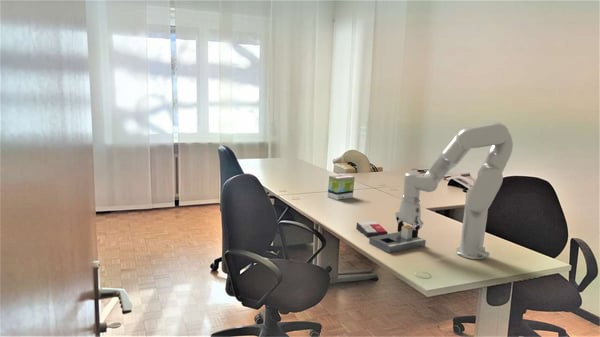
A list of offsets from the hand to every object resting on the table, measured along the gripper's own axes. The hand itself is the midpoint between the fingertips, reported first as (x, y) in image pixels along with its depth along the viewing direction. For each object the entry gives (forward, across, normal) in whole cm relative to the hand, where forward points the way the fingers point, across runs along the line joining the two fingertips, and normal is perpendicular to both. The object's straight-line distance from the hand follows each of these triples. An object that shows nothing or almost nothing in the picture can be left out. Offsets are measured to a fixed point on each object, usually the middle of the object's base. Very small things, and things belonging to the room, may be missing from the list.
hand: (407, 234), depth 200 cm
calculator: (+5, +20, +5) cm, 21 cm away
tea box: (+5, +86, -23) cm, 89 cm away
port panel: (+5, 0, +6) cm, 8 cm away
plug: (+4, 0, 0) cm, 4 cm away
